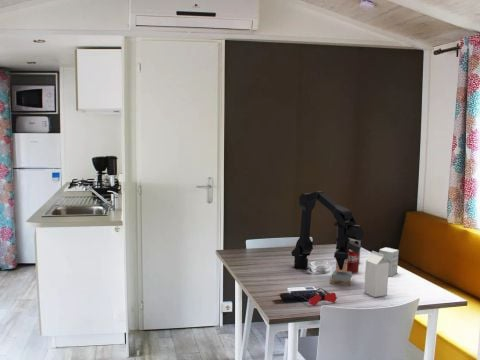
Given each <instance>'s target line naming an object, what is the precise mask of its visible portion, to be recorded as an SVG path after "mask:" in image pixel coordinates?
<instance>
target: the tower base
mask: <svg viewBox="0 0 480 360" xmlns="http://www.w3.org/2000/svg"><path fill="white" fill-rule="evenodd" d="M351 279H352V278H351ZM351 279H350V280H349V282H345V281H338V280H332V276H331V278H330V285H337V286H347V287H348V286H349V287H350V286H351V283H352V281H351Z"/></svg>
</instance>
